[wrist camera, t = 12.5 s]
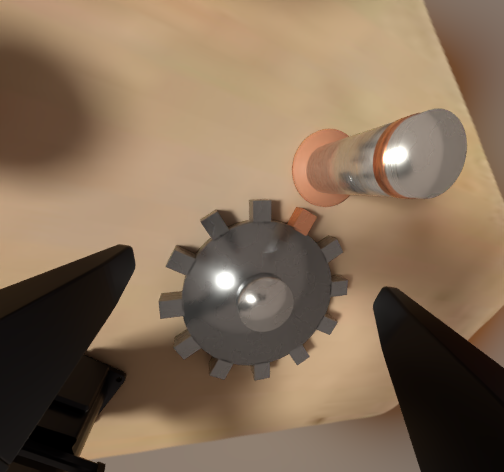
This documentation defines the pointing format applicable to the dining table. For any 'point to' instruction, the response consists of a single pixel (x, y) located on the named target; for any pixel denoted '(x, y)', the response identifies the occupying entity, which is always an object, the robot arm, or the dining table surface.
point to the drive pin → (393, 158)
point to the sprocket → (254, 290)
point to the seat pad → (301, 163)
